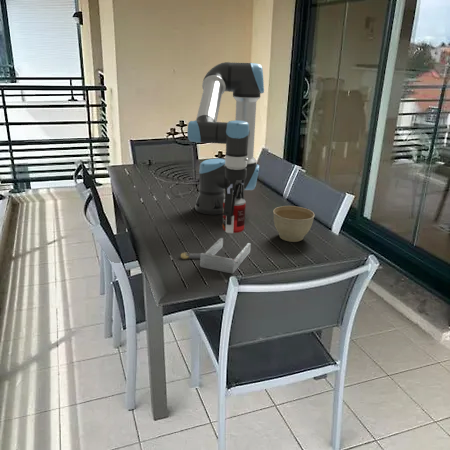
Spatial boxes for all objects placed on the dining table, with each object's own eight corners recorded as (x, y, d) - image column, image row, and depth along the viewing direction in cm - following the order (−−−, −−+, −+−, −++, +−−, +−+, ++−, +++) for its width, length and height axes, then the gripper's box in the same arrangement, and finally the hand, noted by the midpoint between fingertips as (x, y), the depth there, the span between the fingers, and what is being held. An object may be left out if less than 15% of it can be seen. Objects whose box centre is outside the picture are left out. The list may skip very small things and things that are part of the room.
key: (180, 259, 160) (180, 256, 160) (180, 255, 163) (180, 252, 163) (202, 259, 161) (202, 256, 161) (202, 255, 164) (202, 252, 163)
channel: (200, 266, 155) (200, 253, 154) (220, 246, 172) (220, 234, 170) (232, 273, 152) (233, 260, 150) (250, 251, 168) (251, 239, 166)
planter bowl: (302, 249, 172) (305, 222, 168) (264, 239, 180) (266, 213, 176) (317, 236, 185) (320, 211, 181) (281, 227, 192) (283, 203, 188)
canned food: (221, 225, 167) (222, 196, 163) (242, 225, 168) (244, 197, 164) (223, 233, 160) (224, 203, 156) (245, 233, 161) (247, 203, 157)
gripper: (236, 175, 145) (233, 240, 154) (255, 162, 163) (251, 221, 172) (214, 172, 148) (213, 236, 156) (235, 159, 166) (233, 218, 174)
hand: (233, 228), depth 164 cm, fingers closed on canned food, 8 cm apart
